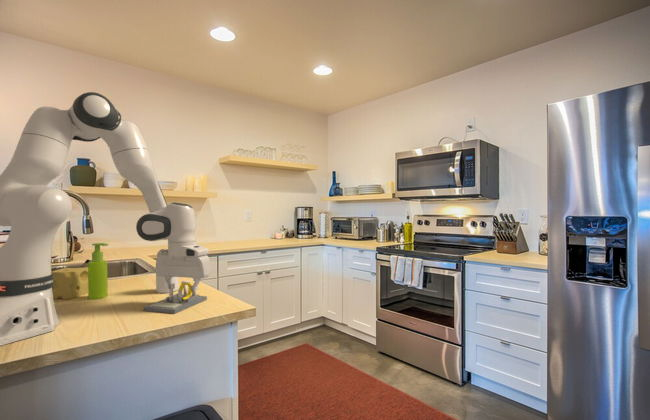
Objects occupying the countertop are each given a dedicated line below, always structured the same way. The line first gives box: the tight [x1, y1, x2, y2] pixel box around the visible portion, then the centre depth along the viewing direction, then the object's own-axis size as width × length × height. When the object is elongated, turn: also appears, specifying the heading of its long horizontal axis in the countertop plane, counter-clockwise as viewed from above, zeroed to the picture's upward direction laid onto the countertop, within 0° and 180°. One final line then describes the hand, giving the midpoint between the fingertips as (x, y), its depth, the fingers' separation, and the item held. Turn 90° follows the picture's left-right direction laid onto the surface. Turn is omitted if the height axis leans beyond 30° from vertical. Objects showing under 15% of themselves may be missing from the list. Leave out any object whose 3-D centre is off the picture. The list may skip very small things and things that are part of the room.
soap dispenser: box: [87, 242, 109, 300], centre depth 123 cm, size 6×7×20 cm
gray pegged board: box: [143, 285, 208, 315], centre depth 113 cm, size 16×12×5 cm
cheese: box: [51, 267, 88, 300], centre depth 126 cm, size 10×11×10 cm
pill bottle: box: [155, 274, 180, 294], centre depth 132 cm, size 8×8×15 cm
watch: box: [178, 280, 193, 300], centre depth 115 cm, size 6×3×6 cm, turn 166°
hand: (182, 289), depth 116 cm, fingers open, 8 cm apart
